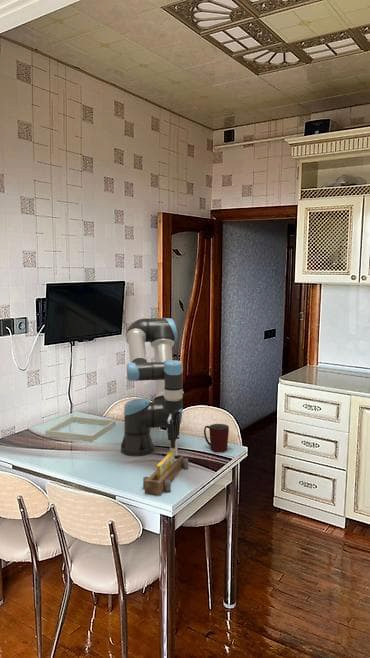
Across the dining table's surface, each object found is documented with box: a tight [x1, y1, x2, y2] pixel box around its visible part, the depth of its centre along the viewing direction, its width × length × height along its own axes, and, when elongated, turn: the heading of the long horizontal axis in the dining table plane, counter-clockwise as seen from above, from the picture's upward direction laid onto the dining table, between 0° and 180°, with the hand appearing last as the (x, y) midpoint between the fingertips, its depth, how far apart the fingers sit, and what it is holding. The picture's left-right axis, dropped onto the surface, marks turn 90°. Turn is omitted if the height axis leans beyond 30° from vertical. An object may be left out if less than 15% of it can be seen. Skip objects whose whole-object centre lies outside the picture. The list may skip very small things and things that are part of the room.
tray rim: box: [44, 415, 117, 443], centre depth 255 cm, size 26×26×3 cm
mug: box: [203, 423, 230, 453], centre depth 228 cm, size 12×9×11 cm
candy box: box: [155, 450, 176, 481], centre depth 196 cm, size 16×2×8 cm, turn 162°
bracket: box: [142, 455, 189, 497], centre depth 195 cm, size 11×28×5 cm, turn 163°
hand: (173, 454), depth 204 cm, fingers closed
